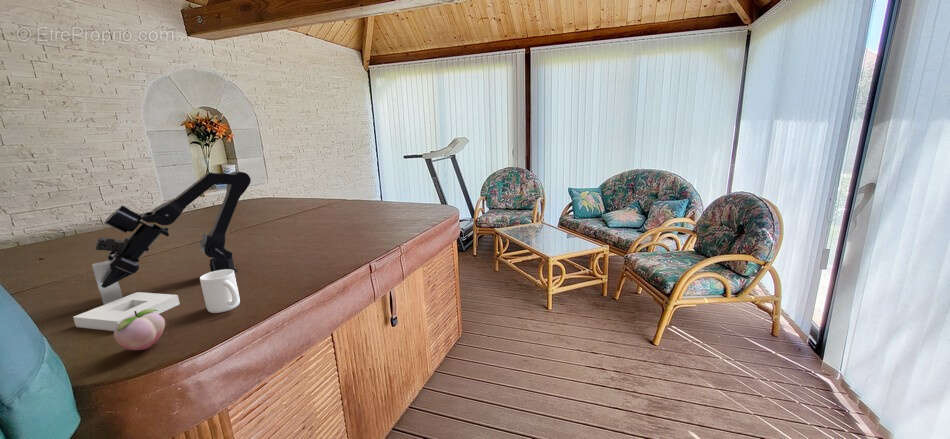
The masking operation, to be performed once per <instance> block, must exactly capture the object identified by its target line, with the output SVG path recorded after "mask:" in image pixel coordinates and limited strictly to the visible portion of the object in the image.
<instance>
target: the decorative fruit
mask: <svg viewBox="0 0 950 439" xmlns="http://www.w3.org/2000/svg"><path fill="white" fill-rule="evenodd" d="M153 311H158V310H156V309H146V310H143V311H140V312H138V313H136V311H134V312H135V314H134V315H131V316H129V317H127V318H125V319H123V320H122V321H121V322H120V323H119V324H118V325H117V326H116V328H115V330H114V331H113V338H114V340H115V342H116V343H117V344H118V345H119V346H121V347H122V348H124V349H126V350H129V351H144V350H147V349H149V348H150V347H152V345H154V344H155V343H156V342H157V341H158V340H159V339H160V338H161V336H162V334H163V332H164V330H165V327H166V320H165V318H164V317H163V316H162V315H161V314H157V313H153Z"/></svg>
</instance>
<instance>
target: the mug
mask: <svg viewBox="0 0 950 439" xmlns="http://www.w3.org/2000/svg"><path fill="white" fill-rule="evenodd" d="M199 282H200V285H201V286H200V287H201V290H202V294H203V298H204V304H205V307H206V309H207V310H206V311H208V312H209V313H210V314H212V313H213V314H219V313H224V312H228V311H230V310H233V309H235V308H237V307H238V306H239V305H240V303H241V300H240V299H241V298H240V294H239V293H240V292H239V288H238V284H237V280H236V272H234V270H231V269H224V270H217V271H213V272H211V271H210V272H206V273H204V274H203V275H201V276H200V277H199Z"/></svg>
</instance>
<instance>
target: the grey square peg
mask: <svg viewBox="0 0 950 439" xmlns="http://www.w3.org/2000/svg"><path fill="white" fill-rule="evenodd" d="M111 261H112V260H110V261H109V260H105V261H100V262H95V263H92V264H91V266H92V271H93V275H94V277H95V280H96V285H97V287H98V290H99V295H100V297H101V298H100V299H101V301H102V303H103V305H105V304H108V303H110V302H113V301H115V300H118V299H121V298H123V297H124V296H123V293H122V289H121V287H120V283H119V281H117V282H115V283H114V284H112V285H110V286H108V287H106V288H103V287H101V285H102V284H103V282H104V280H105V279H106V277H107V275H108V274H109V272H110V271H111V268H110V264H109V263H111Z"/></svg>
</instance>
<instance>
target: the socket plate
mask: <svg viewBox="0 0 950 439" xmlns="http://www.w3.org/2000/svg"><path fill="white" fill-rule="evenodd" d="M122 297H123V298H121V299H118V300H115V301H113V302H110V303H108V304H105V305H104V304H103V305H100V306H98V307H97V306H96V307H94V308H93V309H89V310H88V311H84V312H82V313H79V314H77V315H75V316H72V318H73V321H74V325H75V327H76V328H82V329H90V330H91V329H92V330H101V331H102V330H103V331H110V332H114V330H115V328H116V326H117V325H118V324H119V323H120V322H121V321H122V320H123V319H125V318H127V317H129V316H131V315H134V314H135V312H134V311H136V313H138V312H140V311H143V310H146V309H156V310H158V311H153V313H157V314H159V315H161V314H162V313H163V312H166V311H168V310H170V309H173V308H175V307H177V306H179V305H180V300H179V295H178V294H170V293H169V294H168V293H166V294H165V293H156V292H155V293H154V292H153V293H152V292H144V291H143V292H142V291H141V292H140V291H139V292H138V291H137V292H134V293H131V294H129V295H126V296H122Z"/></svg>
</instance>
